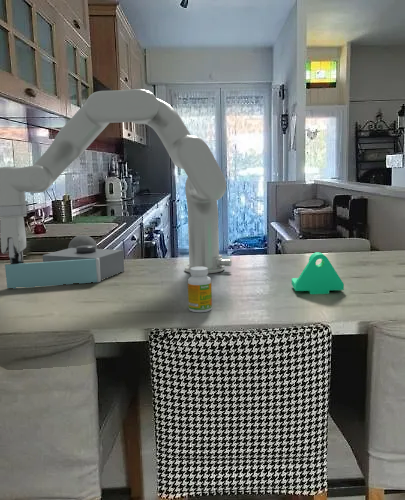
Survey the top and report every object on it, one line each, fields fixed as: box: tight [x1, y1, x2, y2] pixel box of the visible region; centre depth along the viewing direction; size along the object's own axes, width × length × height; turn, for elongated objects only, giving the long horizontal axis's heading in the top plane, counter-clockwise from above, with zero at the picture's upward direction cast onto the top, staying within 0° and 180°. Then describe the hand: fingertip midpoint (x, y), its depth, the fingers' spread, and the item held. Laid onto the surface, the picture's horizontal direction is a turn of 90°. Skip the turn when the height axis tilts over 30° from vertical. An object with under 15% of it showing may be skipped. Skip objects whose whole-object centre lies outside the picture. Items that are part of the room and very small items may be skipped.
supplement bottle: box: [187, 266, 213, 313], centre depth 109 cm, size 5×5×10 cm
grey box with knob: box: [42, 245, 125, 281], centre depth 150 cm, size 20×14×9 cm
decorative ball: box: [67, 234, 98, 249], centre depth 169 cm, size 10×10×10 cm
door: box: [4, 258, 102, 289], centre depth 136 cm, size 26×1×7 cm, turn 103°
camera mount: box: [291, 251, 345, 295], centre depth 124 cm, size 12×8×10 cm, turn 89°
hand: (18, 275), depth 137 cm, fingers closed
